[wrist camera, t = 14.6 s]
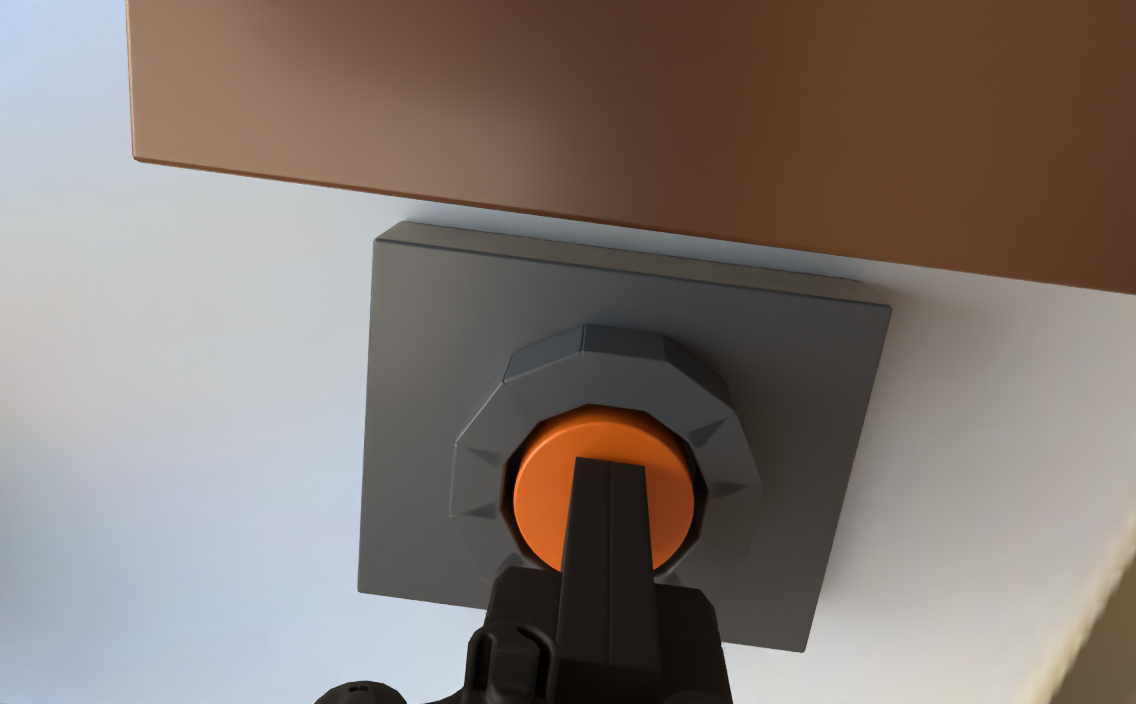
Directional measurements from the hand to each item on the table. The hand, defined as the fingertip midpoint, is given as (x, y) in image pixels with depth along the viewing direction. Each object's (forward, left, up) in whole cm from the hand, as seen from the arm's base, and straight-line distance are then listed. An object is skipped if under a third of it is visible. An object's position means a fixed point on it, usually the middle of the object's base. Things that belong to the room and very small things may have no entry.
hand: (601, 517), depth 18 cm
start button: (0, 0, -2) cm, 2 cm away
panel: (0, 0, -5) cm, 5 cm away
